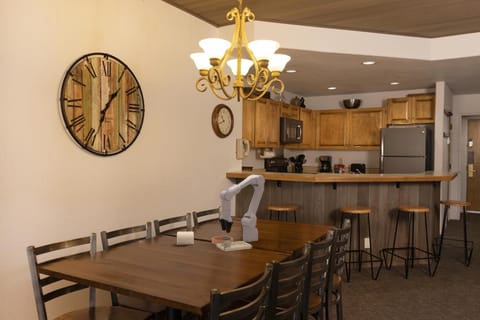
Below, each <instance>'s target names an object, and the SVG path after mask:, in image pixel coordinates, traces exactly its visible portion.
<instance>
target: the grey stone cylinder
mask: <svg viewBox="0 0 480 320" xmlns="http://www.w3.org/2000/svg"><path fill="white" fill-rule="evenodd" d="M222 236H223V240H229V237H230V235H229V234H228V235H227V234H223V235H222Z"/></svg>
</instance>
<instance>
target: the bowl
mask: <svg viewBox="0 0 480 320" xmlns="http://www.w3.org/2000/svg"><path fill="white" fill-rule="evenodd" d="M223 241H231V242H234V238H233V237H232V236H229V240H223V235H219V236H213V237H212V238H211V244H212V245H215V246H216V244H218V243H223Z"/></svg>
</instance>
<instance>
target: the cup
mask: <svg viewBox="0 0 480 320" xmlns="http://www.w3.org/2000/svg"><path fill="white" fill-rule="evenodd" d="M194 237H195V235H194V231H177V233H176V245H177V246H187V245H188V246H189V245H194V243H195V242H194V241H195V239H194Z"/></svg>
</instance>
